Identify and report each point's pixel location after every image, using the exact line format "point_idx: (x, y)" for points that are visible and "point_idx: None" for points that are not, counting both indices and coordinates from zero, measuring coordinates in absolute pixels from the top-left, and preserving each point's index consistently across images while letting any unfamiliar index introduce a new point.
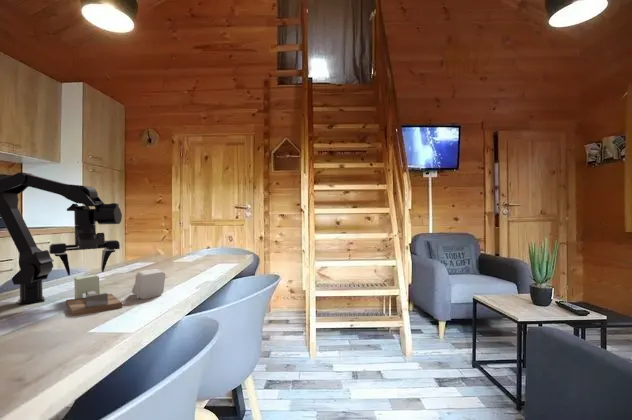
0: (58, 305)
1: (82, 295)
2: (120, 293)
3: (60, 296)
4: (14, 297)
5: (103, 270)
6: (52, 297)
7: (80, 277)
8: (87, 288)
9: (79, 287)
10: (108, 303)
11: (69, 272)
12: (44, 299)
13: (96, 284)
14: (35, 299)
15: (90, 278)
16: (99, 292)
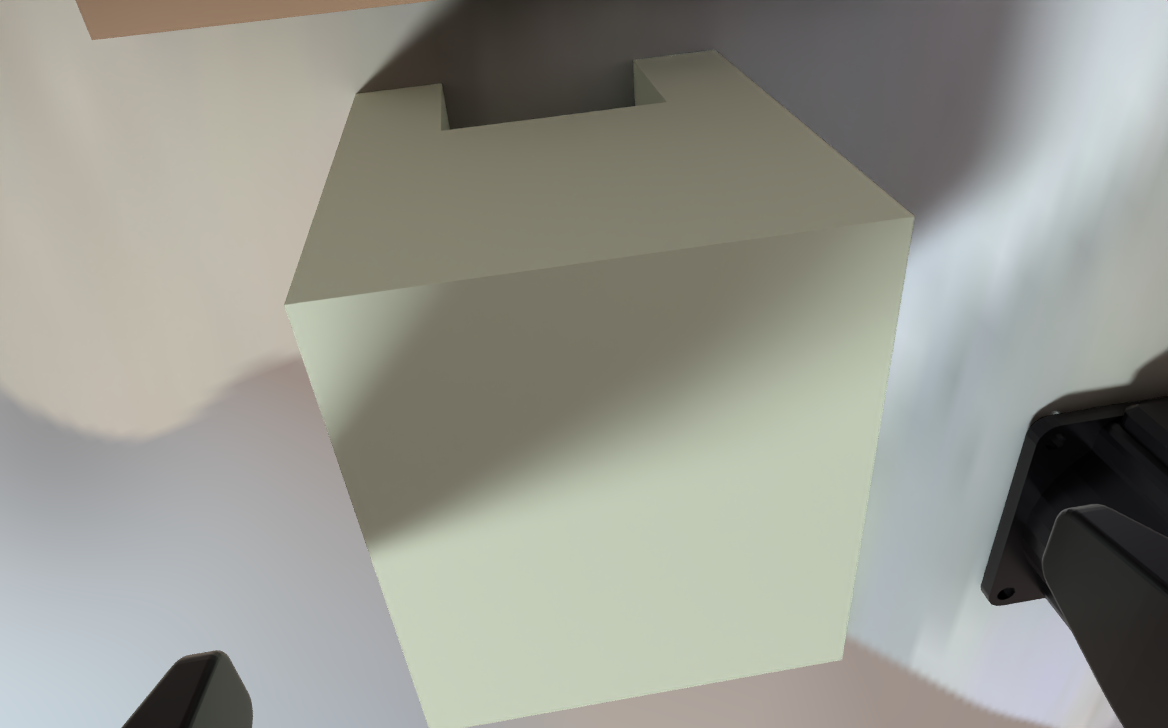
0: (990, 3)
1: (661, 90)
2: (52, 381)
3: None
4: None
5: (166, 687)
6: (901, 579)
7: (756, 548)
8: (588, 149)
9: (767, 146)
10: None
11: (1138, 559)
12: (1040, 436)
13: (387, 198)
14: (1156, 410)
15: (544, 262)
16: (344, 135)
